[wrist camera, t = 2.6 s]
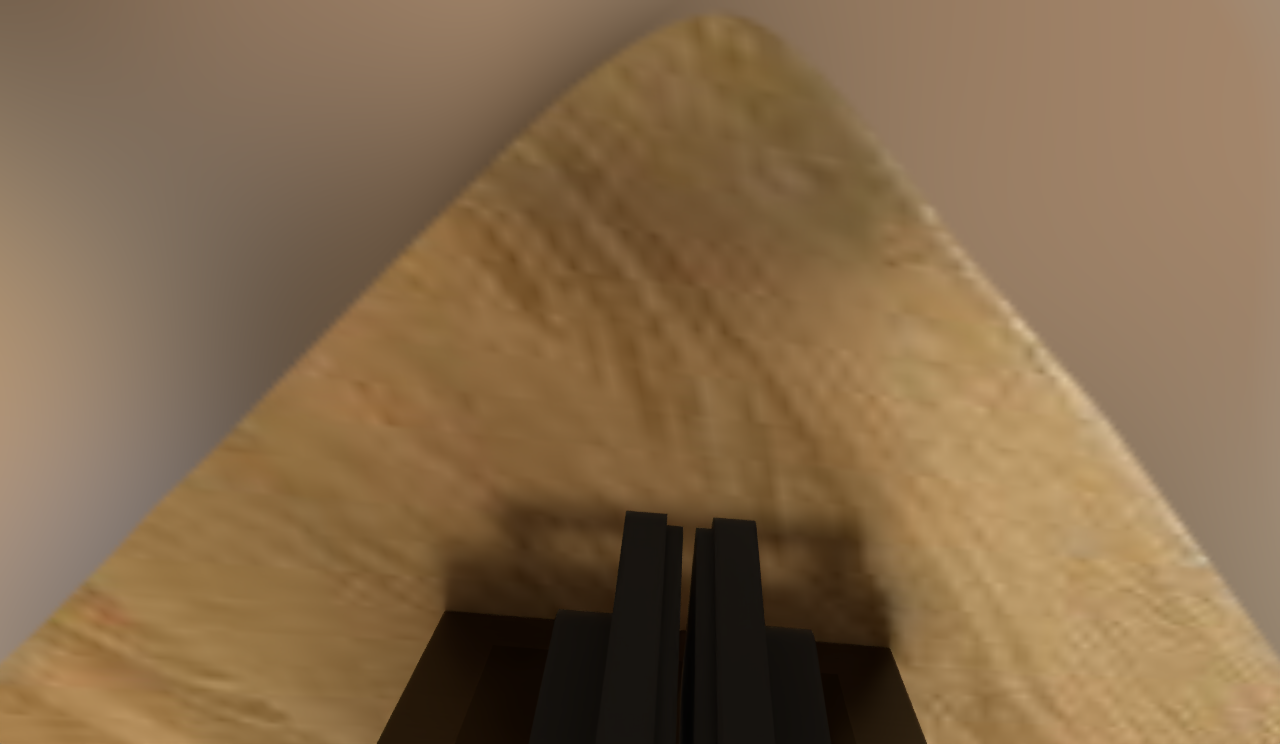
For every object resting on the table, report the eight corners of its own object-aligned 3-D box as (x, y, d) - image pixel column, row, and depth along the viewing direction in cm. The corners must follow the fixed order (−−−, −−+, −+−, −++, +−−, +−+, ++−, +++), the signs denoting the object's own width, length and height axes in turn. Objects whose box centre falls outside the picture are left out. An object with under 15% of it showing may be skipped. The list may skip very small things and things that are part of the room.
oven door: (444, 542, 30) (276, 821, 18) (901, 578, 30) (1050, 893, 17) (444, 648, 31) (286, 978, 19) (884, 686, 31) (1012, 1051, 18)
